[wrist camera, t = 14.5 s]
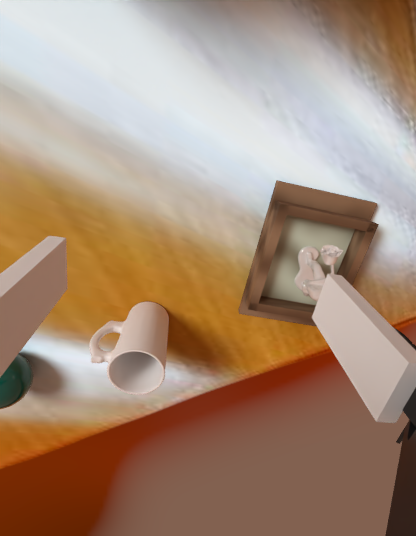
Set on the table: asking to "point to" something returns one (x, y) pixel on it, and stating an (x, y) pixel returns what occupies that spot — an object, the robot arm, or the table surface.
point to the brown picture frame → (297, 237)
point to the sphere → (15, 382)
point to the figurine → (314, 269)
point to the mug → (136, 349)
